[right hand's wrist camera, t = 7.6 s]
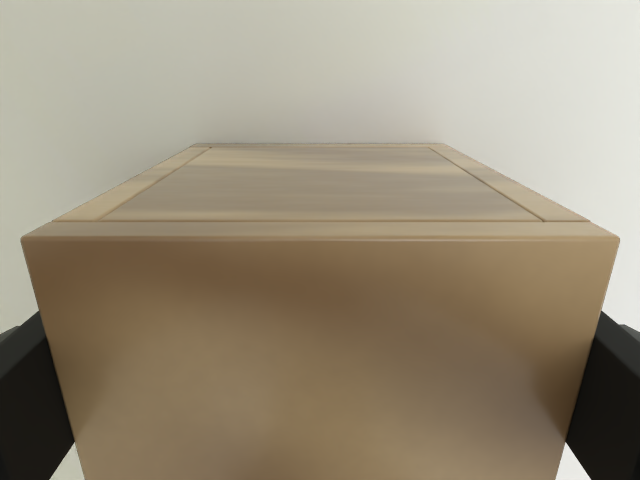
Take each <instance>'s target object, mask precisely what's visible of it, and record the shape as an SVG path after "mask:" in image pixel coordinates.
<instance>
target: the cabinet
mask: <svg viewBox="0 0 640 480" xmlns="http://www.w3.org/2000/svg"><path fill="white" fill-rule="evenodd" d="M619 243H620V238H619V237H618V236H616V235H615V234H613V233H611V232H609V231H607V230H605V229H603V228H601V227H599V226H598V225H596V224H594V223H592V222H590V220H588V219H586V218H584V217H582V216H580V215H578V214H576V213H575V212H573V211H571V210H569V209H567V208H565V207H563V206H561V205H559V204H557V203H556V202H554V201H552V200H550V199H548V198H546V197H544V196H542V195H540V194H538V193H537V192H535V191H533V190H531V189H529V188H527V187H525V186H523V185H521V184H519V183H518V182H516V181H514V180H512V179H510V178H508V177H506V176H504V175H502V174H500V173H499V172H497V171H495V170H493V169H491V168H489V167H487V166H485V165H483V164H481V163H480V162H478V161H476V160H474V159H472V158H470V157H468V156H466V155H464V154H462V153H461V152H459V151H457V150H455V149H453V148H451V147H449V146H447V145H445V144H194V145H192V146H191V147H189V148H188V149H186V150H184V151H182V152H180V153H178V154H176V155H174V156H173V157H171V158H169V159H167V160H165V161H163V162H161V163H159V164H158V165H156V166H154V167H152V168H150V169H148V170H146V171H144V172H143V173H141V174H139V175H137V176H135V177H133V178H131V179H129V180H128V181H126V182H124V183H122V184H120V185H118V186H116V187H114V188H113V189H111V190H109V191H107V192H105V193H103V194H101V195H99V196H98V197H96V198H94V199H92V200H90V201H88V202H86V203H84V204H83V205H81V206H79V207H77V208H75V209H73V210H71V211H69V212H68V213H66V214H64V215H62V216H60V217H58V218H56V219H54V220H53V221H52V222H49V223H47V224H45V225H43V226H41V227H39V228H37V229H36V230H34V231H32V232H30V233H28V234H26V235H24V236H22V237H21V245H22V249H23V253H24V256H25V260H26V264H27V267H28V271H29V275H30V278H31V282H32V286H33V289H34V293H35V297H36V301H37V304H38V308H39V312H40V315H41V319H42V323H43V326H44V330H45V334H46V337H47V341H48V345H49V349H50V352H51V356H52V360H53V363H54V367H55V371H56V374H57V378H58V382H59V386H60V389H61V393H62V397H63V400H64V404H65V408H66V411H67V415H68V419H69V422H70V426H71V430H72V434H73V437H74V441H75V445H76V448H77V452H78V456H79V459H80V463H81V467H82V471H83V474H84V478H85V480H555V479H556V475H557V471H558V468H559V464H560V460H561V457H562V453H563V449H564V446H565V442H566V438H567V435H568V431H569V427H570V423H571V420H572V416H573V412H574V409H575V405H576V401H577V398H578V394H579V390H580V387H581V383H582V379H583V376H584V372H585V368H586V365H587V361H588V357H589V354H590V350H591V346H592V342H593V339H594V335H595V331H596V328H597V324H598V320H599V317H600V313H601V309H602V306H603V302H604V298H605V295H606V291H607V287H608V284H609V280H610V276H611V272H612V269H613V265H614V261H615V258H616V254H617V250H618V247H619Z"/></svg>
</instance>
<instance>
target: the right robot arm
mask: <svg viewBox="0 0 640 480" xmlns="http://www.w3.org/2000/svg"><path fill="white" fill-rule="evenodd" d="M74 442H75V441H74V437H73V434H72V430H71V426H70V422H69V419H68V415H67V411H66V408H65V404H64V400H63V397H62V393H61V389H60V386H59V382H58V378H57V374H56V371H55V367H54V363H53V360H52V356H51V352H50V349H49V345H48V341H47V337H46V334H45V330H44V326H43V323H42V319H41V315H40V312H39V311H38V312H37V313H36V314H34V315H33V316H32V317H31V318H29V319H28V320H27V321H26V322H25V323H23V324H22V325H21V326H16V327H14V328H12V329H10V330H8V331H6V332H4V333H2V334H0V480H49V479H50V478H51V476H52V475H53V473H54V472H55V470H56V469H57V467H58V466H59V464H60V463H61V461H62V460H63V458H64V457H65V456H66V454H67V453H68V451H69V450H70V448H71V447H72V445H73V444H74ZM566 443H567V444H568V446H569V447H570V449H571V450H572V452H573V453H574V455H575V456H576V458H577V459H578V461H579V462H580V464H581V465H582V467H583V468H584V470H585V471H586V473H587V474H588V476H589V477H590V479H591V480H640V332H638V331H636V330H634V329H632V328H630V327H628V326H626V325H618V324H617V323H616V322H615V321H613V320H612V319H611V318H610V317H609V316H607V315H606V314H605V313H604V312H603V311H601V313H600V317H599V320H598V324H597V328H596V331H595V335H594V339H593V342H592V346H591V350H590V354H589V357H588V361H587V365H586V368H585V372H584V376H583V379H582V383H581V387H580V390H579V394H578V398H577V401H576V405H575V409H574V412H573V416H572V420H571V423H570V427H569V431H568V435H567V438H566Z"/></svg>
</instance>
